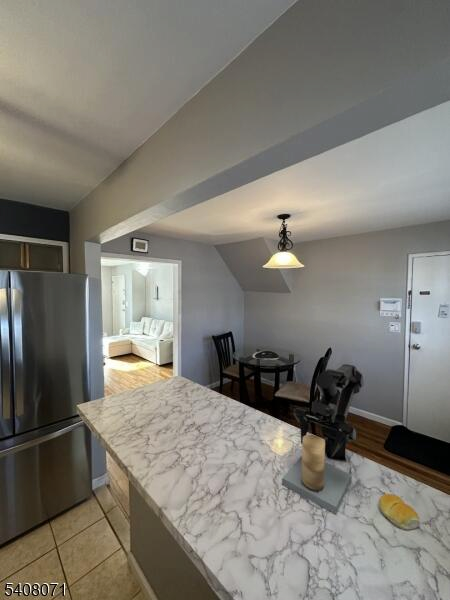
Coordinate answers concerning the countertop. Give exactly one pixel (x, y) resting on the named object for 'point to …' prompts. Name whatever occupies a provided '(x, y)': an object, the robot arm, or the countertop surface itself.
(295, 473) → the slate board
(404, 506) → the bread roll
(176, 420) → the countertop surface
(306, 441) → the oak leg
